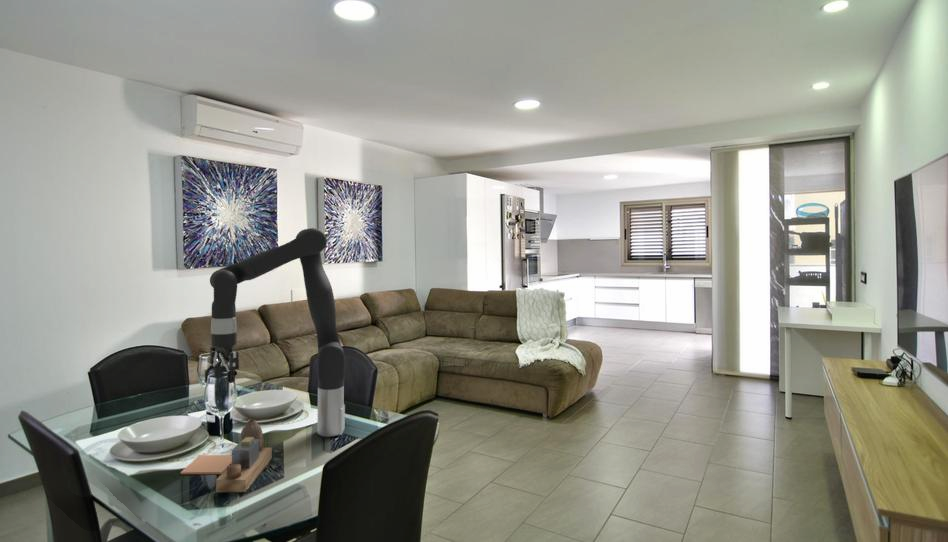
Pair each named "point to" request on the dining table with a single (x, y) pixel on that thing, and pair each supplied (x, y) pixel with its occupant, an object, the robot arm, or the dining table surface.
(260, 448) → the plane body
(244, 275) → the robot arm
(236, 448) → the grey block
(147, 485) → the dining table surface
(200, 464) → the mat
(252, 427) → the brown oval piece
